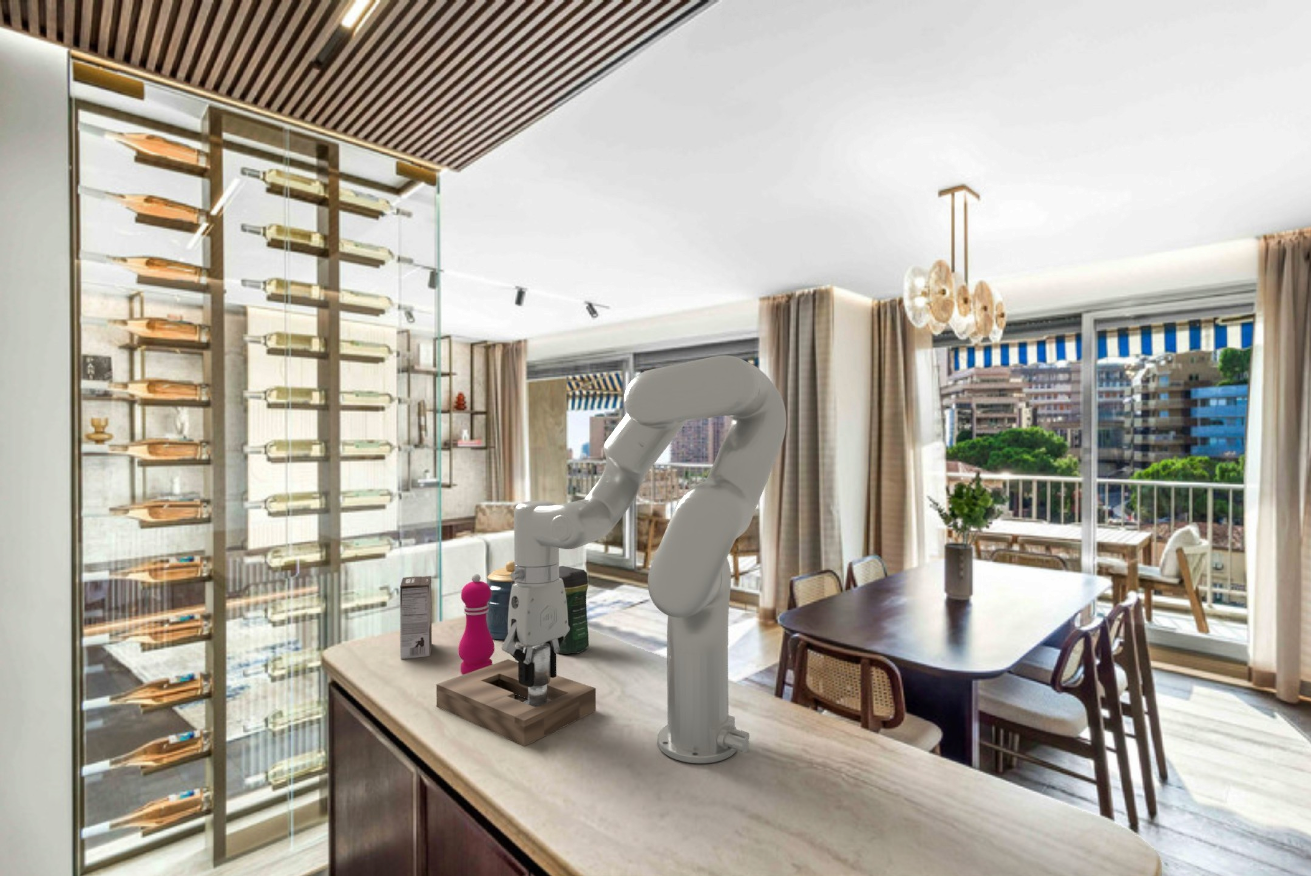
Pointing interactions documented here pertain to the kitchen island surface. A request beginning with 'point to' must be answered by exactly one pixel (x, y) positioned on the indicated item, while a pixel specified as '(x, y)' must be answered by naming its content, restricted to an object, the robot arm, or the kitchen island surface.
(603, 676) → the kitchen island surface
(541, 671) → the steel peg
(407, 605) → the coffee box
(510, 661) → the keyhole board
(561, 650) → the coffee jar
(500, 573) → the canister
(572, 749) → the kitchen island surface
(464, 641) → the pepper mill
